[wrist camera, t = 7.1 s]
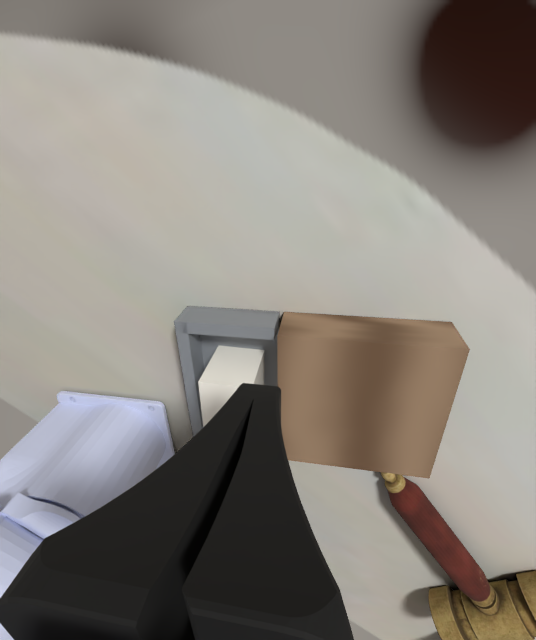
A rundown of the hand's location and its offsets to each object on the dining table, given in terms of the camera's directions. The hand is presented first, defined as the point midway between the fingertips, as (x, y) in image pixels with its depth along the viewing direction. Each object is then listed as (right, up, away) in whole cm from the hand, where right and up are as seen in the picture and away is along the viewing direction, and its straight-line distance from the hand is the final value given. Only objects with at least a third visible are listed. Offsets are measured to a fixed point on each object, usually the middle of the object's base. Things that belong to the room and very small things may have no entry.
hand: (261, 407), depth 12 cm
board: (+6, -1, +11) cm, 13 cm away
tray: (-2, -1, +13) cm, 13 cm away
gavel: (+16, -16, +18) cm, 29 cm away
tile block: (0, -2, +10) cm, 10 cm away
